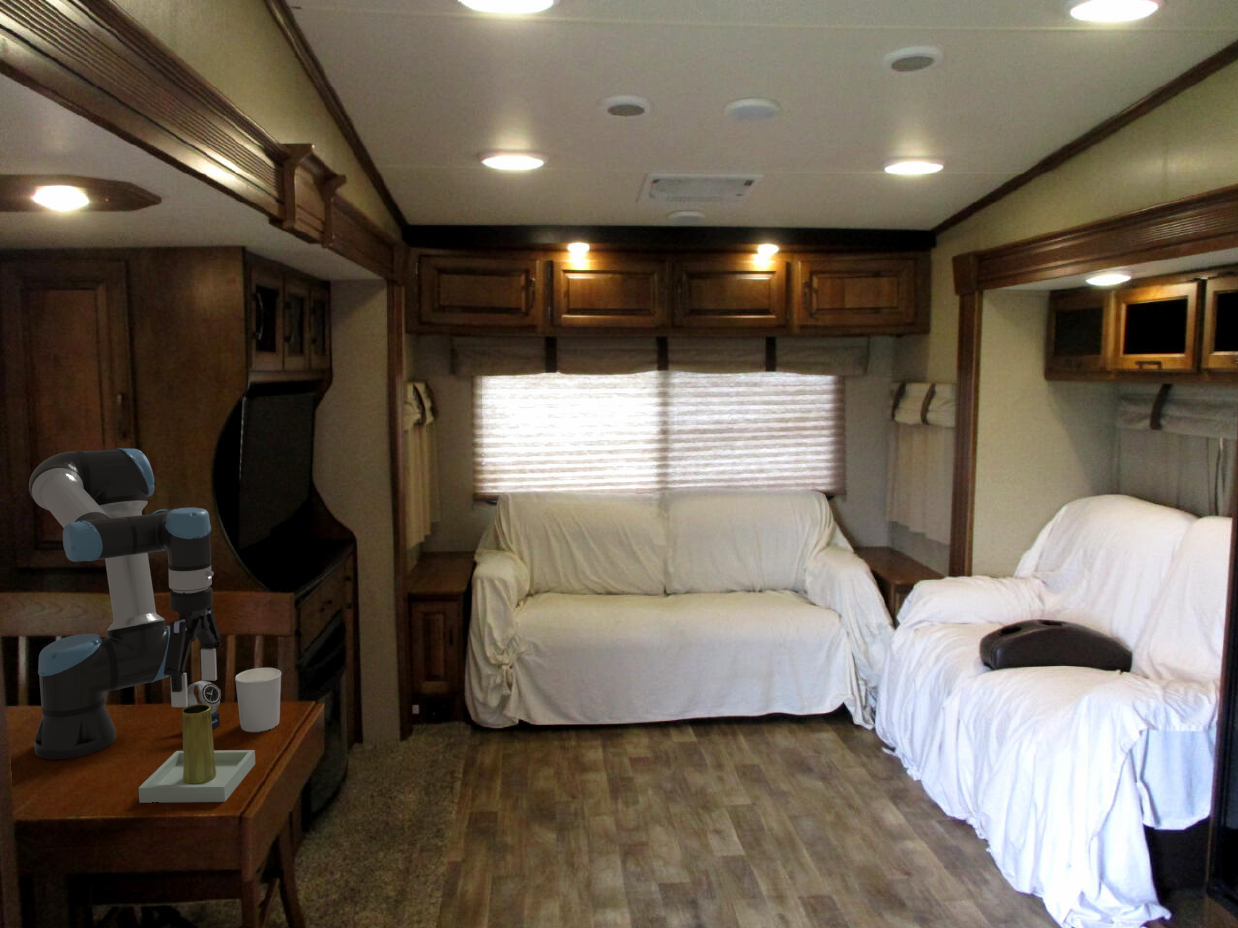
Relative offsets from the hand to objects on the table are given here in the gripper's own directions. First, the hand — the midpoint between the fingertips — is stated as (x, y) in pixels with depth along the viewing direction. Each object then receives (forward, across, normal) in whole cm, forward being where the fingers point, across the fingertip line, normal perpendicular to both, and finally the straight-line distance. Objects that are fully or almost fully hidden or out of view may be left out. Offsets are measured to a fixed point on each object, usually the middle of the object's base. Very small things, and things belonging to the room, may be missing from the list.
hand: (195, 692), depth 176 cm
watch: (+19, +26, +10) cm, 33 cm away
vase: (+18, 0, 0) cm, 18 cm away
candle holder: (+19, +28, -2) cm, 34 cm away
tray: (+18, 0, 0) cm, 19 cm away
